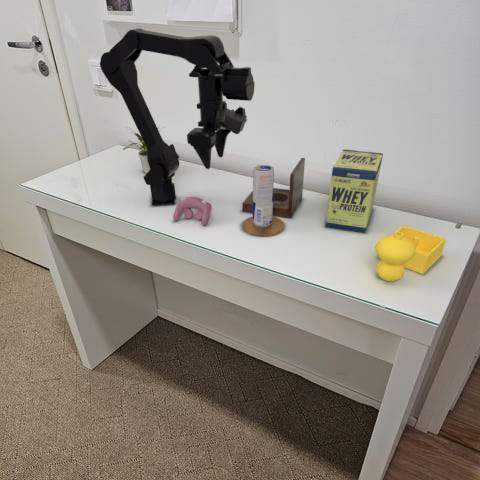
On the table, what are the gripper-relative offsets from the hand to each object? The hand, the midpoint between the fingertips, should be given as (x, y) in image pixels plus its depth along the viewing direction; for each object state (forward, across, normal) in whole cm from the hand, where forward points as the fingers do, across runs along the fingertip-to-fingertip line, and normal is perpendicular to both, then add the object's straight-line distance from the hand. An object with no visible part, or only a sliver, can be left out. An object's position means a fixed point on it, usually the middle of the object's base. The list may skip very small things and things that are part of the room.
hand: (214, 162), depth 115 cm
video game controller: (+13, -8, +4) cm, 16 cm away
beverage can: (+13, -7, -15) cm, 21 cm away
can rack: (+13, +7, -15) cm, 21 cm away
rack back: (+13, +7, -21) cm, 26 cm away
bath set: (+13, -16, -51) cm, 55 cm away
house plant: (+13, +21, +33) cm, 42 cm away
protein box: (+13, +5, -37) cm, 39 cm away
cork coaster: (+13, -7, -16) cm, 21 cm away
